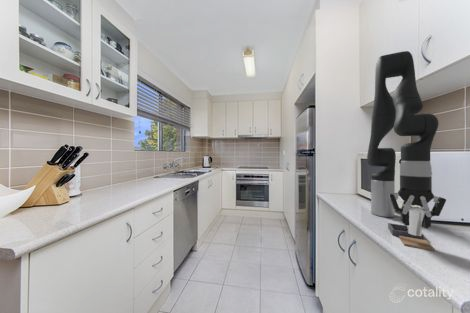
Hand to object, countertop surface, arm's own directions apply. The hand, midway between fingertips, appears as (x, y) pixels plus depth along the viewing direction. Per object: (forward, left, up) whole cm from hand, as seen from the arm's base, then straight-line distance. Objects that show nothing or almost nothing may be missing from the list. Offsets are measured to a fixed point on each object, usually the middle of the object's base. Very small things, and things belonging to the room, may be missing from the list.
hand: (415, 225), depth 61 cm
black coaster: (-9, -1, -6) cm, 10 cm away
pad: (0, 0, -6) cm, 6 cm away
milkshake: (0, 0, -3) cm, 3 cm away
